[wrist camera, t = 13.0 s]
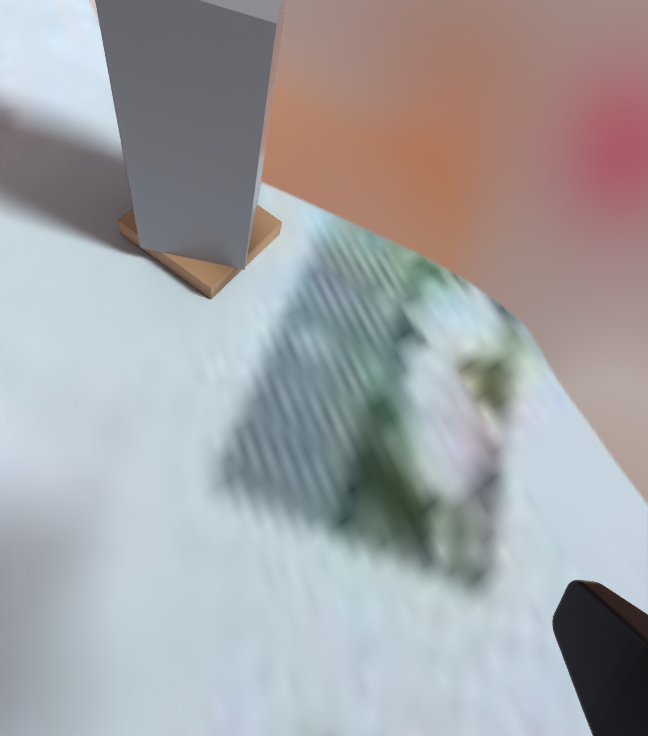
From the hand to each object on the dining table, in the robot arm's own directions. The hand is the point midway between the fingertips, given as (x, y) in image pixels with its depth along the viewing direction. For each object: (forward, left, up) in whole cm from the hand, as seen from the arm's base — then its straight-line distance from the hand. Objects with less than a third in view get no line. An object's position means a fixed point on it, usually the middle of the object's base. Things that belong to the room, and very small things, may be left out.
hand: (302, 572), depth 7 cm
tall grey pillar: (+8, +16, -13) cm, 22 cm away
